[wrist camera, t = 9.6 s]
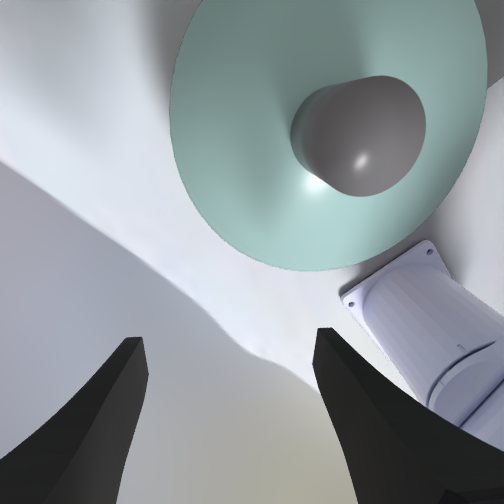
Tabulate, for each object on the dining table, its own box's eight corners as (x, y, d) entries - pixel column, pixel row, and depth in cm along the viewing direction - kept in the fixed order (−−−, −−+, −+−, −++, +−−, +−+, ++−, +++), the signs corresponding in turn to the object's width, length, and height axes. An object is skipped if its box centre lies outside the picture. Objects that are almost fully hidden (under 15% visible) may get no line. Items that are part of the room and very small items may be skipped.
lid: (512, 157, 16) (614, 174, 12) (289, 308, 19) (308, 364, 15) (399, -199, 10) (524, -414, 6) (98, 101, 13) (42, 97, 9)
